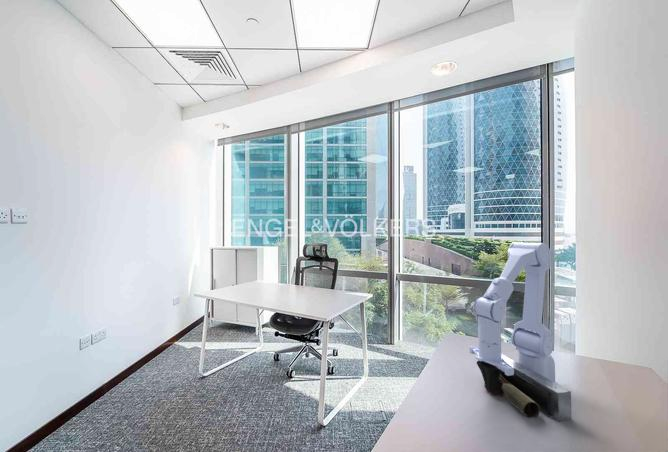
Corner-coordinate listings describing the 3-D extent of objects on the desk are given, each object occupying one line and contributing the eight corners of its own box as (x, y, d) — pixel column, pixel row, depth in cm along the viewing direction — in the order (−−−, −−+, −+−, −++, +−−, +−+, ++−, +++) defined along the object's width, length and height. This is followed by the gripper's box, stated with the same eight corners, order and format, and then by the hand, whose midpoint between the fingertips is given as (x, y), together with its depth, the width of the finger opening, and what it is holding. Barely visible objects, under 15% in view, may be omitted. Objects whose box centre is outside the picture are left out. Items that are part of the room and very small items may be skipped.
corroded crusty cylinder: (540, 418, 72) (540, 396, 72) (516, 420, 71) (516, 398, 71) (494, 380, 90) (493, 363, 90) (474, 382, 89) (474, 364, 89)
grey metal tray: (497, 372, 94) (497, 351, 95) (571, 418, 71) (570, 391, 71) (485, 374, 93) (484, 353, 94) (555, 422, 70) (555, 393, 70)
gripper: (460, 332, 87) (461, 377, 86) (497, 352, 72) (498, 405, 72) (480, 330, 88) (481, 374, 88) (520, 350, 74) (521, 401, 74)
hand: (490, 388), depth 80 cm, fingers closed
